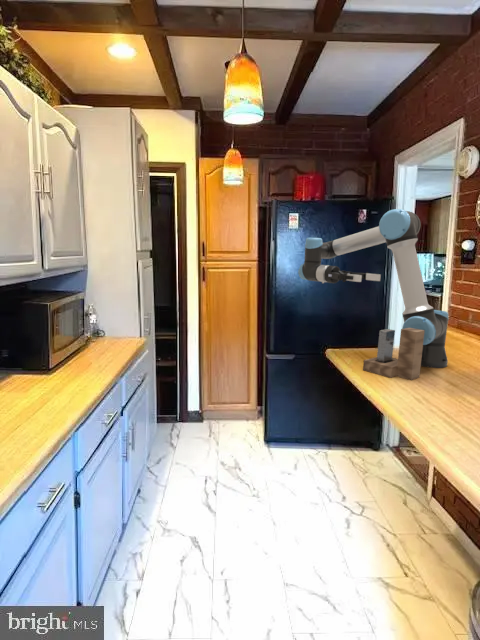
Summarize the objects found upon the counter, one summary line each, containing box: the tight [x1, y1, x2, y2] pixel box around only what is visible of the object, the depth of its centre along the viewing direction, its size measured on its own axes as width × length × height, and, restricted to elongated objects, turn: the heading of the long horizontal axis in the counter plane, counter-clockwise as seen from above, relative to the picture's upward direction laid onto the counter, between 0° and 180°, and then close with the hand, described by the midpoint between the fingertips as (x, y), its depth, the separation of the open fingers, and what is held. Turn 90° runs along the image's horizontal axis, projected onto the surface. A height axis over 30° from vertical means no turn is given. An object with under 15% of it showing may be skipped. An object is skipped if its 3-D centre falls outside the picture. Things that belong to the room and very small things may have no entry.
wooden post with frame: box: [362, 328, 425, 381], centre depth 168 cm, size 18×14×18 cm
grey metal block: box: [376, 328, 396, 363], centre depth 171 cm, size 4×6×16 cm, turn 131°
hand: (370, 278), depth 178 cm, fingers open, 13 cm apart
